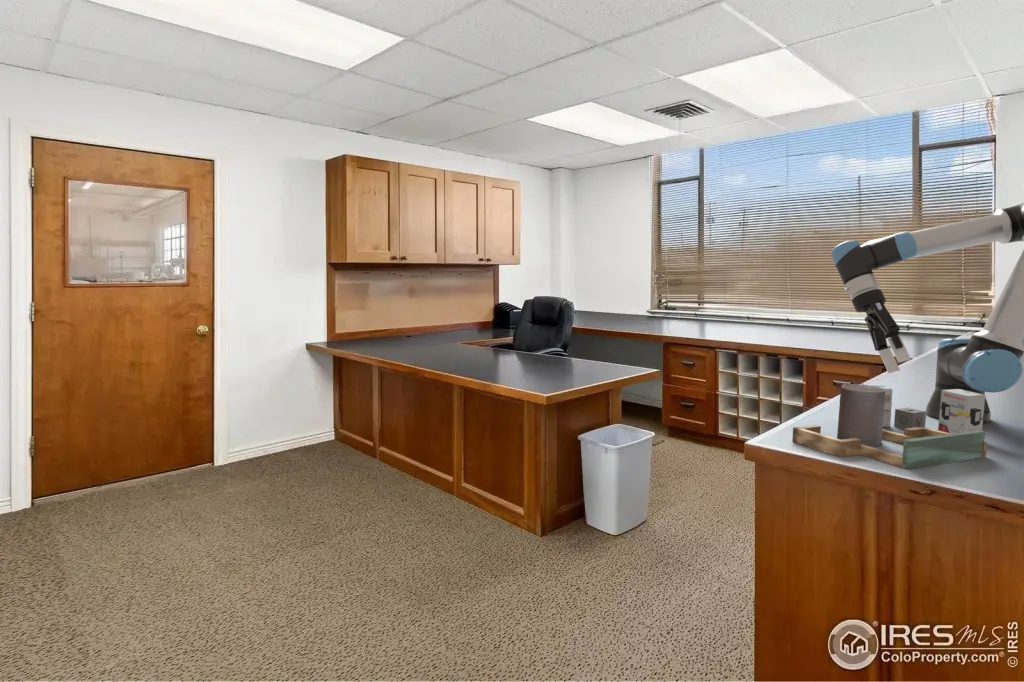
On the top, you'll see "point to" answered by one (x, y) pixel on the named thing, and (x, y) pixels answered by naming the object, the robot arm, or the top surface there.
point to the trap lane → (917, 449)
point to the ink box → (961, 411)
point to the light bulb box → (886, 405)
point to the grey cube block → (909, 418)
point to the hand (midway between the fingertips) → (899, 366)
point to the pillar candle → (861, 413)
